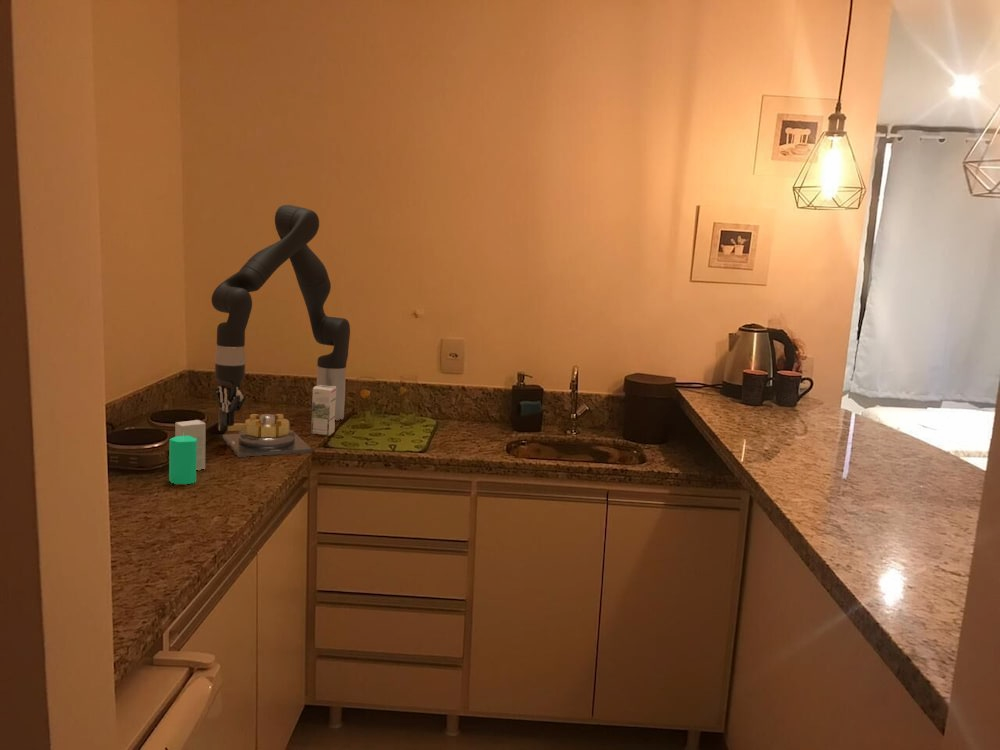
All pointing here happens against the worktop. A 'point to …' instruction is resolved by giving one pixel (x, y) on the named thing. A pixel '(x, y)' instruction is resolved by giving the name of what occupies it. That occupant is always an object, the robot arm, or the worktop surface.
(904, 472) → the worktop surface
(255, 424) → the gold notched piece
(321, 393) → the syrup box
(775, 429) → the worktop surface
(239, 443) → the bearing housing
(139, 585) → the worktop surface
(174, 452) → the candle
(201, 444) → the skincare box
